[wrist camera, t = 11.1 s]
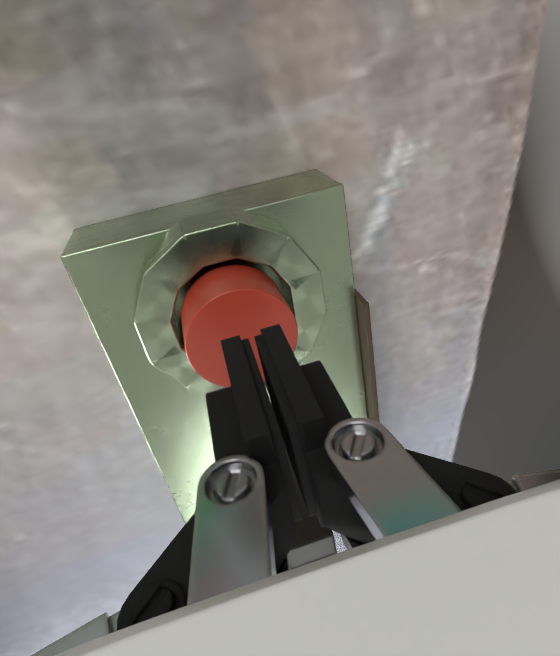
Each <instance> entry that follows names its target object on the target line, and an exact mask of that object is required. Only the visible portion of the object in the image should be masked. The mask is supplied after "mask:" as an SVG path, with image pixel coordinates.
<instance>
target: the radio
mask: <svg viewBox="0 0 560 656" xmlns="http://www.w3.org/2000/svg"><path fill="white" fill-rule="evenodd" d="M61 260H62V262H63V264H64V266H65V268H66V270H67V273H68V275H69V277H70V279H71V281H72V283H73V285H74V287H75V290H76V292H77V294H78V296H79V298H80V300H81V302H82V305H83V307H84V309H85V311H86V313H87V315H88V317H89V319H90V322H91V324H92V326H93V328H94V330H95V332H96V334H97V336H98V339H99V341H100V343H101V345H102V347H103V349H104V351H105V354H106V356H107V358H108V360H109V362H110V364H111V366H112V368H113V371H114V373H115V375H116V377H117V379H118V381H119V383H120V386H121V388H122V390H123V392H124V394H125V396H126V398H127V400H128V403H129V405H130V407H131V409H132V411H133V413H134V415H135V417H136V420H137V422H138V424H139V426H140V428H141V430H142V432H143V435H144V437H145V439H146V441H147V443H148V445H149V447H150V449H151V452H152V454H153V456H154V458H155V460H156V462H157V464H158V466H159V469H160V471H161V473H162V475H163V477H164V479H165V481H166V484H167V486H168V488H169V490H170V492H171V494H172V496H173V498H174V501H175V503H176V505H177V507H178V509H179V511H180V513H181V515H182V518H183V520H184V522H185V524H186V523H187V522H188V521H189V519H190V518H191V517H192V516H193V514H194V513H195V508H196V497H197V487H198V483H199V479H200V478H201V476H202V474H203V473H204V471H205V470H206V469H207V468H208V467H209V466H210V465H211V464H213V463H214V462H215V457H214V450H213V444H212V437H211V430H210V424H209V417H208V410H207V404H206V396H205V395H206V393H209V392H213V391H216V390H219V389H223V388H226V387H222V386H219V385H216V384H213V383H211V382H209V381H207V380H205V379H204V378H202V377H201V376H200V375H199V374H198V373H197V372H196V371H195V370H194V369H193V368H192V366H191V365H190V363H189V361H188V359H187V356H186V353H185V347H184V338H183V329H182V320H181V308H182V303H183V300H184V297H185V295H186V293H187V291H188V290H189V288H190V287H191V285H192V284H193V283H194V282H195V281H196V280H197V279H198V278H200V277H201V276H202V275H204V274H205V273H207V272H209V271H211V270H213V269H215V268H218V267H222V266H226V265H245V266H250V267H253V268H256V269H258V270H260V271H262V272H264V273H265V274H267V275H268V276H269V277H270V278H271V279H272V280H273V281H274V282H275V283H276V285H277V286H278V288H279V290H280V291H281V293H282V295H283V297H284V298H285V300H286V302H287V303H288V305H289V307H290V309H291V310H292V312H293V314H294V316H295V318H296V322H297V327H298V339H297V345H296V348H295V351H294V355H295V357H296V359H297V361H298V363H299V365H300V366H301V365H304V364H308V363H311V362H315V361H318V360H319V361H321V363H322V364H323V366H324V368H325V370H326V371H327V373H328V375H329V377H330V378H331V380H332V382H333V384H334V386H335V387H336V389H337V391H338V393H339V394H340V396H341V398H342V400H343V401H344V403H345V405H346V407H347V408H348V410H349V412H350V414H351V415H352V417H353V418H367V419H368V412H367V403H366V393H365V384H364V374H363V365H362V356H361V346H360V337H359V327H358V318H357V309H356V299H355V290H354V280H353V271H352V261H351V252H350V243H349V233H348V224H347V214H346V205H345V196H344V186H343V185H342V184H341V183H339V182H337V181H336V180H334V179H332V178H331V177H329V176H327V175H325V174H324V173H322V172H320V171H319V170H317V169H314V170H310V171H306V172H302V173H298V174H294V175H290V176H286V177H282V178H278V179H273V180H269V181H265V182H261V183H257V184H253V185H249V186H245V187H241V188H237V189H233V190H229V191H225V192H221V193H217V194H213V195H209V196H205V197H201V198H197V199H193V200H189V201H185V202H181V203H177V204H173V205H169V206H165V207H161V208H157V209H153V210H149V211H145V212H141V213H136V214H132V215H128V216H124V217H120V218H116V219H112V220H108V221H104V222H100V223H96V224H92V225H88V226H84V227H80V228H76V229H74V231H73V233H72V235H71V237H70V239H69V241H68V243H67V245H66V247H65V249H64V251H63V253H62V255H61ZM264 385H265V388H266V391H267V393H268V389H267V386H266V382H265V381H264ZM268 396H269V393H268ZM269 399H270V397H269ZM270 402H271V401H270Z"/></svg>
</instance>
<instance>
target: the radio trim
mask: <svg viewBox="0 0 560 656" xmlns="http://www.w3.org/2000/svg"><path fill="white" fill-rule="evenodd" d="M354 290H355V299H356V309H357V318H358V327H359V337H360V346H361V356H362V365H363V374H364V384H365V393H366V403H367V412H368V419H372V420H374V421H377V422H379V412H378V401H377V389H376V378H375V367H374V356H373V345H372V333H371V322H370V311H369V303H368V302H367V301H366V300H365V299H364V298H363V297H362V296H361V295H360V294H359V292H358V291H357V290H356V289H355V288H354Z"/></svg>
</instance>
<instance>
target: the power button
mask: <svg viewBox="0 0 560 656" xmlns="http://www.w3.org/2000/svg"><path fill="white" fill-rule="evenodd" d="M181 320H182V329H183V338H184V347H185V353H186V356H187V359H188V361H189V363H190V365H191V366H192V368H193V369H194V370H195V371H196V372H197V373H198V374H199V375H200V376H201V377H202V378H204V379H205V380H207V381H209V382H211V383H213V384H216V385H219V386H222V387H230V386H231V383H230V379H229V375H228V371H227V366H226V362H225V358H224V354H223V349H222V345H221V341H220V340H223V339H227V338H231V337H234V336H238V335H240V339H241V340H243V339H246V338H249V341H250V344H251V347H252V350H253V353H254V356H255V359H256V362H257V364H258V367H259V370H260V373H261V376H262V379H263V382H264V381H265V378H264V374H263V370H262V366H261V362H260V358H259V354H258V350H257V346H256V342H255V338H254V336H257V335H260V334H261V331H260V329H262V328H266V327H270V326H273V325H277V324H280V326H281V328H282V330H283V332H284V334H285V336H286V338H287V340H288V343H289V345H290V347H291V349H292V351H293V353H294V351H295V348H296V345H297V339H298V327H297V322H296V318H295V316H294V314H293V312H292V310H291V309H290V307H289V305H288V303H287V302H286V300H285V298H284V297H283V295H282V293H281V291H280V290H279V288H278V286H277V285H276V283H275V282H274V281H273V280H272V279H271V278H270V277H269V276H268V275H267V274H265V273H264V272H262V271H260V270H258V269H256V268H253V267H250V266H245V265H226V266H222V267H218V268H215V269H213V270H211V271H209V272H207V273H205V274H204V275H202V276H201V277H200V278H198V279H197V280H196V281H195V282H194V283H193V284H192V285H191V287H190V288H189V290H188V291H187V293H186V295H185V297H184V300H183V303H182V308H181Z"/></svg>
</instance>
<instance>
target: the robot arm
mask: <svg viewBox="0 0 560 656" xmlns="http://www.w3.org/2000/svg"><path fill="white" fill-rule="evenodd" d="M260 331H261V334H260V335H257V336H254V338H255V342H256V346H257V350H258V354H259V358H260V362H261V366H262V370H263V374H264V378H265V382H266V386H267V389H268V393H269V396H268V393H267V391H266V388H265V385H264V382H263V379H262V376H261V373H260V370H259V367H258V364H257V362H256V359H255V356H254V353H253V350H252V347H251V344H250V341H249V338H246V339H243V340H241V339H240V335H238V336H234V337H231V338H227V339H223V340H220V341H221V345H222V349H223V354H224V358H225V362H226V366H227V371H228V375H229V379H230V383H231V386H230V387H226V388H223V389H219V390H216V391H213V392H209V393H206V395H205V396H206V404H207V410H208V417H209V424H210V430H211V437H212V444H213V450H214V457H215V462H214V463H213V464H211V465H210V466H209V467H208V468H207V469H206V470H205V471H204V473H203V474H202V476H201V478H200V479H199V483H198V487H197V497H196V508H195V513H194V514H193V516H192V517H191V518H190V519H189V521H188V522H187V523H186V524H185V526H184V527H183V528H182V529H181V531H180V532H179V533H178V534H177V536H176V537H175V538H174V539H173V541H172V542H171V543H170V544H169V546H168V547H167V548H166V549H165V551H164V552H163V553H162V554H161V556H160V557H159V558H158V559H157V561H156V562H155V563H154V564H153V566H152V567H151V568H150V569H149V571H148V572H147V573H146V574H145V576H144V577H143V578H142V579H141V581H140V582H139V583H138V584H137V586H136V587H135V588H134V589H133V591H132V592H131V593H130V594H129V596H128V598H127V599H126V601H125V602H124V604H123V606H122V608H121V610H120V611H119V612H117V613H115V614H113V615H112V616H110V617H109V616H108V614H107V613H104V614H102V615H101V616H99V617H97V618H95V619H94V620H92V621H90V622H88V623H87V624H85V625H83V626H81V627H80V628H78V629H76V630H74V631H73V632H71V633H69V634H68V635H66V636H64V637H62V638H61V639H59V640H57V641H55V642H54V643H52V644H50V645H48V646H47V647H45V648H43V649H41V650H40V651H38V652H36V653H35V654H33V655H31V656H560V469H558V470H549V471H540V472H531V473H523V474H513V476H512V480H507V481H504V480H503V479H501V478H499V477H497V476H494V475H492V474H490V473H486V472H483V471H479V470H476V469H472V468H469V467H466V466H462V465H459V464H455V463H452V462H448V461H445V460H441V459H438V458H434V457H431V456H428V455H424V454H421V453H417V452H414V451H410V450H407V449H405V448H404V447H403V446H402V445H401V444H400V443H399V442H398V441H397V439H396V438H395V437H394V436H393V435H392V434H391V433H390V432H389V431H388V430H387V429H386V428H385V427H384V426H383V425H382V424H380V423H379V422H377V421H374V420H372V419H367V418H353V417H352V415H351V414H350V412H349V410H348V408H347V407H346V405H345V403H344V401H343V400H342V398H341V396H340V394H339V393H338V391H337V389H336V387H335V386H334V384H333V382H332V380H331V378H330V377H329V375H328V373H327V371H326V370H325V368H324V366H323V364H322V363H321V361H319V360H318V361H315V362H311V363H308V364H304V365H301V366H300V365H299V363H298V361H297V359H296V357H295V355H294V353H293V351H292V349H291V347H290V345H289V343H288V340H287V338H286V336H285V334H284V332H283V330H282V328H281V326H280V324H277V325H273V326H270V327H266V328H262V329H260ZM269 397H270V399H269ZM270 401H271V402H270ZM283 443H284V444H283ZM284 446H285V448H284ZM285 449H286V452H287V455H288V458H289V461H290V464H291V467H292V469H293V472H294V475H295V478H296V481H297V484H298V487H299V490H300V493H301V496H302V499H303V502H304V505H305V507H306V510H307V513H308V516H309V517H311V516H314V515H317V517H318V519H319V522H320V525H321V528H323V527H326V528H328V529H331V530H333V531H336V532H338V533H340V534H341V537H342V540H343V542H344V545H345V546H346V548H347V550H346V551H343V552H340V553H337V554H334V555H331V556H328V557H326V558H323V559H320V560H317V561H314V562H311V563H308V564H305V565H302V566H299V567H297V568H294V569H291V565H290V560H289V556H288V553H289V551H290V549H291V548H292V546H293V544H294V542H295V541H296V539H297V537H298V532H297V529H296V525H295V522H296V521H299V520H302V516H301V512H300V508H299V504H298V500H297V496H296V492H295V488H294V484H293V480H292V476H291V472H290V468H289V464H288V460H287V456H286V452H285Z"/></svg>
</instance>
